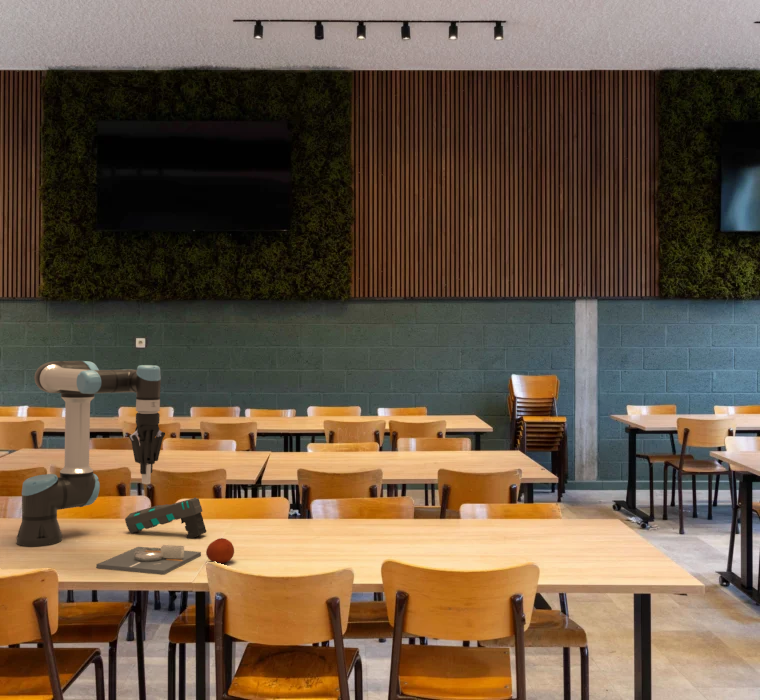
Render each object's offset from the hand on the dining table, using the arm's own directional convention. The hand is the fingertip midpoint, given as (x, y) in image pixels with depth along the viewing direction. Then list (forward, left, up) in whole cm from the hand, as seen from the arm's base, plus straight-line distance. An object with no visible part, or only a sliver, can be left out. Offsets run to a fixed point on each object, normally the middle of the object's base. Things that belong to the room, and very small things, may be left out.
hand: (146, 483), depth 269 cm
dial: (+6, -1, -24) cm, 25 cm away
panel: (+3, -1, -25) cm, 25 cm away
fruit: (+25, +5, -26) cm, 36 cm away
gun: (-12, +34, -26) cm, 44 cm away
